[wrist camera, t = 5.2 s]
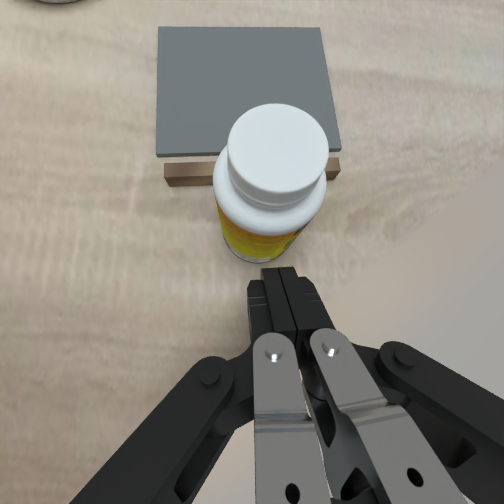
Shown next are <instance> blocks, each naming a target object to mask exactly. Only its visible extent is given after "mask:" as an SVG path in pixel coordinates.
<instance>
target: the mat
mask: <svg viewBox="0 0 504 504" xmlns="http://www.w3.org/2000/svg"><path fill="white" fill-rule="evenodd" d="M265 104H285V105H290V106H293V107H296V108H299V109H301V110H303V111H304V112H306V113H308V114H309V115H310V116H312V117H313V118H314V119H315V120H316V121H317V122H318V123H319V125H320V126H321V127H322V129H323V131H324V133H325V135H326V138H327V141H328V146H329V151H340V150H341V149H342V147H341V141H340V136H339V130H338V125H337V119H336V114H335V109H334V103H333V98H332V92H331V87H330V81H329V76H328V70H327V65H326V60H325V54H324V49H323V43H322V38H321V32H320V28H301V27H158V66H157V119H156V155H157V157H169V156H200V155H220V153H221V151H222V150H223V149H224V148H225V146H226V145H227V143H228V137H229V133H230V131H231V129H232V127H233V125H234V123H235V122H236V121H237V120H238V118H240V117H241V116H242V115H243V114H244V113H246V112H247V111H249V110H250V109H252V108H255V107H257V106H261V105H265Z"/></svg>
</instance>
